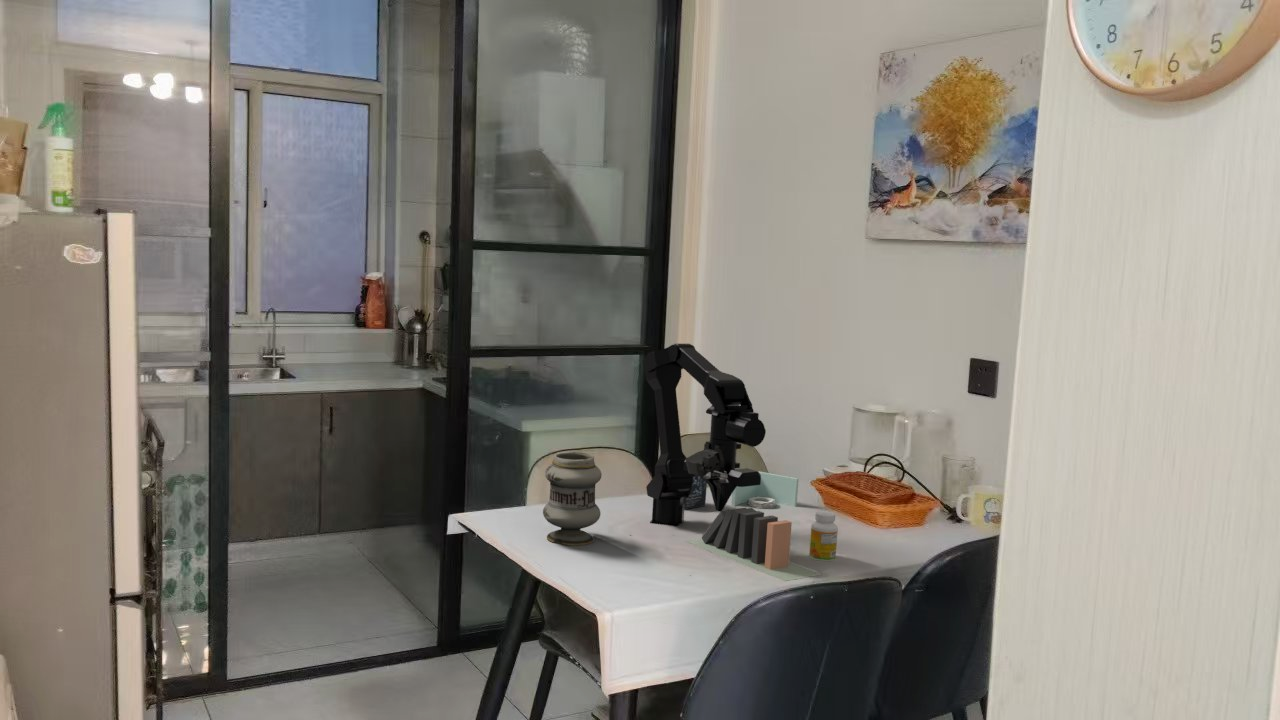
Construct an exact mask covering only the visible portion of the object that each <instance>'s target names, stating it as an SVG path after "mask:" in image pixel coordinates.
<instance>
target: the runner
mask: <svg viewBox="0 0 1280 720" xmlns="http://www.w3.org/2000/svg"><path fill="white" fill-rule="evenodd" d="M685 542H686V543H688V544H690V545H693V546H695V547H699V548H700V549H703V550H706V551H708V552H712V553H713V554H716V555H718V556H721V557H723V558H726V559H728V560H731V561H734V562H736V563H739V564H741V565H744V566H745V567H748V568H750V569H753V570H756V571H758V572H761V573H764V574H765V575H768V576H770V577H773V578H776V579H778V580H781V581H784V582H789V581H794V580H798V579H804V578H810V577H815V576H821V575H822V573H821V572H817V571H815V570H812V569H809V568H807V567H804V566H802V565H800V564H796V563H794V562H791V561H789V566H788V567H782V568H777V569H771V570H770V569H767V568H765V563H761V564H755V563H752V562H751V558H745V559H742V558H740V557H738V552H736V553H728V552H727V551H725V548H719V549H717V548H716V547H715V545H714V544H713V543H707V544H705V543H704V541H703V540H702V538H700V539H692V540H686V541H685Z"/></svg>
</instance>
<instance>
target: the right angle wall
mask: <svg viewBox="0 0 1280 720" xmlns="http://www.w3.org/2000/svg"><path fill="white" fill-rule="evenodd" d="M757 471H758V472H759V473H760V475H761V484H760V485H755V486H746V487H738V486H737V487H736V488H735V490H734V491H733V493H732V494H731V506H733V505H734V507H736V506H738V504H739V505H741V503H742V504H744V502H745V503H747V505H748V506H749V507H750V506H751V508H757V509H773V508H775V507H776V504H779V503H780V505H784V504H785V506H791V507H794V506H795V507H797V506H798V493H799V478H797V477H791V476H786V475H781V474H776V473H775V474H774V473H770V472H766V471H765V472H764V471H759V470H757ZM747 501H748V502H747Z"/></svg>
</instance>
